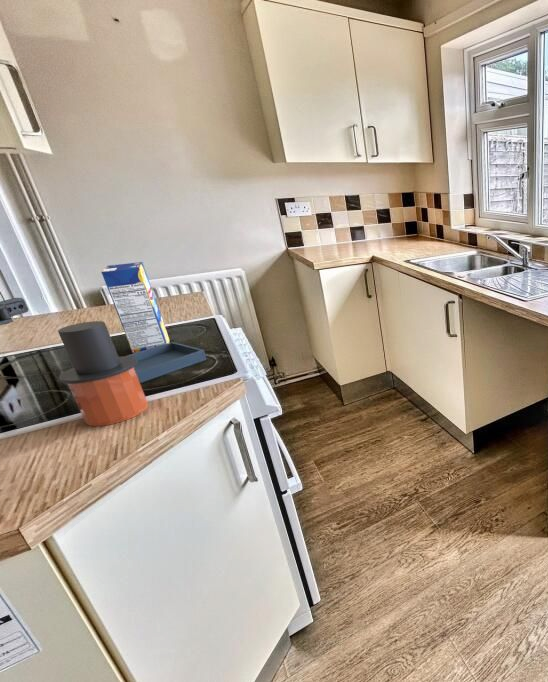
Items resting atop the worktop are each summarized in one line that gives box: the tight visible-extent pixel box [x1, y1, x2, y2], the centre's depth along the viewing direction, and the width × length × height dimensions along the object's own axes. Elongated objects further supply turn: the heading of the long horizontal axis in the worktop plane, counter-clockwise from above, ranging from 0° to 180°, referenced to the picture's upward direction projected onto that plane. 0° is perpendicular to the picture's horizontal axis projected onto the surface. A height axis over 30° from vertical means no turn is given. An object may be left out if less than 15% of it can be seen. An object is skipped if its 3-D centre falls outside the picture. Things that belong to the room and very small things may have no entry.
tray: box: [126, 341, 208, 384], centre depth 99 cm, size 19×14×3 cm
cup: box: [67, 367, 149, 427], centre depth 79 cm, size 9×9×9 cm
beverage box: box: [100, 261, 171, 354], centre depth 108 cm, size 7×11×22 cm, turn 36°
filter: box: [57, 320, 138, 385], centre depth 76 cm, size 11×11×12 cm
